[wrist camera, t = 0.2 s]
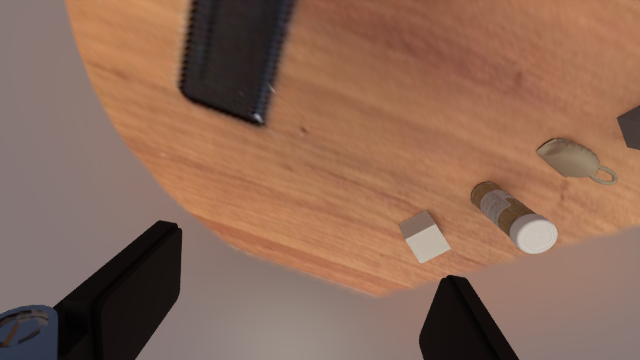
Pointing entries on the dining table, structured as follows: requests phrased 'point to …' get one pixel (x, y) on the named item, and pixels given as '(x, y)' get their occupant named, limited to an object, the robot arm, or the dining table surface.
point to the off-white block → (424, 237)
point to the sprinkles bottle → (515, 218)
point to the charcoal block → (631, 127)
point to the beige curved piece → (574, 160)
